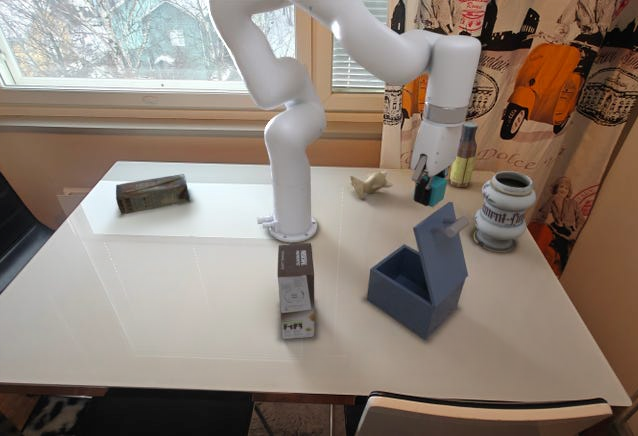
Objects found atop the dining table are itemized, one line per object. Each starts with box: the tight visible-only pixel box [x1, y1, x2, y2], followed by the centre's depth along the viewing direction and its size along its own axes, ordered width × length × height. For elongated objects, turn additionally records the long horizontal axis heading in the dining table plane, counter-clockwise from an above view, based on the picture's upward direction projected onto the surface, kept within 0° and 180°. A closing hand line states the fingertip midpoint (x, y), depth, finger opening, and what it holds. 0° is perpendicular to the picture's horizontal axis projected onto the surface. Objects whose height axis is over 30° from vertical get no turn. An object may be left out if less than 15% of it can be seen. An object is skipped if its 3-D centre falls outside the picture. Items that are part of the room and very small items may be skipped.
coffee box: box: [277, 242, 316, 340], centre depth 73 cm, size 9×6×16 cm
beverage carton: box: [115, 173, 191, 216], centre depth 112 cm, size 8×19×7 cm, turn 113°
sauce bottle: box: [449, 121, 479, 189], centre depth 118 cm, size 7×6×20 cm
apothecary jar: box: [472, 170, 537, 253], centre depth 94 cm, size 12×12×18 cm
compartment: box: [366, 243, 467, 341], centre depth 79 cm, size 15×12×9 cm
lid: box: [412, 201, 470, 307], centre depth 68 cm, size 15×12×5 cm
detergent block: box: [412, 175, 449, 208], centre depth 79 cm, size 4×4×4 cm
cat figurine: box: [349, 170, 393, 200], centre depth 117 cm, size 8×7×12 cm
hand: (428, 197), depth 80 cm, fingers closed on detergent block, 4 cm apart
